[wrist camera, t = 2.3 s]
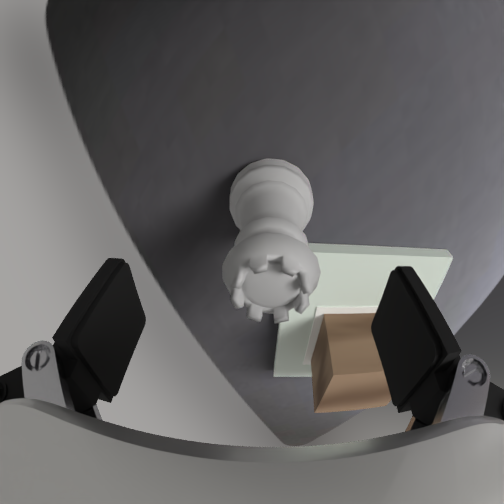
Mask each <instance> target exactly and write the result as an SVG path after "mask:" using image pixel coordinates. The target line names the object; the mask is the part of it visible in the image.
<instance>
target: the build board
mask: <svg viewBox="0 0 504 504" xmlns="http://www.w3.org/2000/svg"><path fill="white" fill-rule="evenodd" d="M308 245H309V248H310V249H311V250H312V252H313V253H314V254H315V255H316V256H317V259H318V263H319V267H320V271H321V273H320V277H319V281H318V285H317V287H316V289H315V290H314V291H313V293H311V295H310V296H309V304H310V305H309V306H308V307H307V308H306V309H305V310H304V312H303V313H302V314H300V313H298V312H296V311H295V309H294V308H293V309H291V310H289V311H288V312H289V321H286V322H281V323H279V326H278V335H277V344H276V353H275V361H274V377H312V371H311V358H312V355H313V352H314V348H315V345H316V341H317V338H318V334H319V331H320V327H321V323H322V320H323V316H324V314H354V313H376V311H377V308H378V306H379V303H380V301H381V298H382V295H383V292H384V290H385V287H386V284H387V281H388V278H389V275H390V273H391V271H392V270H394V269H395V268H396V267H397V266H411V267H413V269H414V270H415V272H416V273H417V275H418V276H419V278H420V279H421V281H422V282H423V284H424V285H425V287H426V289H427V290H428V292H429V293H430V295H431V297H432V298H433V300H434V298H435V296H436V294H437V292H438V290H439V288H440V286H441V284H442V282H443V280H444V278H445V275H446V273H447V271H448V269H449V266H450V264H451V262H452V259H453V257H452V255H451V254H450V253H449V251H448V250H445V249H427V248H408V247H388V246H366V245H343V244H319V243H308Z"/></svg>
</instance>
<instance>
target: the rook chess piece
mask: <svg viewBox="0 0 504 504" xmlns="http://www.w3.org/2000/svg"><path fill="white" fill-rule="evenodd" d="M313 204H314V200H313V194H312V190H311V186H310V183H309V180H308V179H307V177H306V176H305V175H304V174H303V172H302V171H301V170H300V169H299V168H298V167H296V166H294V165H292V164H290V163H288V162H286V161H285V160H278V159H263V160H260V161H256V162H253V163H250V164H249V165H248V166H246V167H245V168H244V169H243V170H242V171H240V172H239V173H238V174H237V176H236V178H235V180H234V182H233V184H232V186H231V193H230V206H229V210H230V213H231V215H232V217H233V220H234V222H235V224H236V226H237V227H238V228H239V229H240V232H239V234H238V236H237V238H236V240H235V242H234V247H233V248H232V249H230V251H229V253H228V255H227V257H226V258H225V260H224V262H223V264H222V277H223V282H224V283H225V285H226V287H227V289H228V291H229V293H230V294H231V296H230V300H231V302H232V304H233V305H234V307H235V309H239V308H242V307H244V306H246V307H247V316H246V318H248V319H251V320H254V321H257V322H259V323H260V321H261V319H262V313H270V314H274V323H275V324H276V323H281V322H286V321H289V312H288V311H289V310H291V309H293V308H294V309H295V311H296V312H298V313H300V314H302V313H303V312H304V310H305V309H306V308H307V307H308V306H309V305H310V304H309V296H310V295H311V293H313V291H314V290H315V289H316V287H317V285H318V281H319V277H320V273H321V271H320V267H319V263H318V259H317V256H316V255H315V254H314V253H313V252H312V250H311V249H310V248H309V245H308V242H307V238H306V235H305V234H304V233H303V232H302V231H303V230H304V228H305V227H306V225H307V224H308V222H309V220H310V219H311V215H312V210H313Z"/></svg>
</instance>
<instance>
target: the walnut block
mask: <svg viewBox="0 0 504 504" xmlns="http://www.w3.org/2000/svg"><path fill="white" fill-rule="evenodd" d="M375 314H376V313H354V314H324V316H323V320H322V323H321V327H320V331H319V334H318V338H317V341H316V345H315V348H314V352H313V355H312V358H311V371H312V383H313V397H314V413H322V412H337V411H348V410H358V409H366V408H373V407H381V406H386V405H387V404H388V403H389V402H390V401H391V395H390V392H389V388H388V384H387V381H386V377H385V374H384V370H383V367H382V363H381V360H380V357H379V354H378V350H377V347H376V344H375V341H374V338H373V335H372V332H371V324H372V321H373V318H374V316H375Z"/></svg>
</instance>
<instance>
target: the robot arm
mask: <svg viewBox="0 0 504 504" xmlns="http://www.w3.org/2000/svg"><path fill="white" fill-rule="evenodd" d="M145 321H146V317H145V314H144V311H143V308H142V305H141V302H140V299H139V296H138V293H137V290H136V287H135V283H134V280H133V277H132V273H131V270H130V267H129V265H128V263H125V261H124V259H118V258H117V259H116V258H108V259H107V260H106V261H105V263H104V264H103V265H102V267H101V268H100V269H99V271H98V272H97V273H96V274H95V276H94V277H93V278H92V280H91V281H90V283H89V284H88V285H87V287H86V288H85V290H84V291H83V292H82V294H81V295H80V297H79V298H78V299H77V301H76V302H75V304H74V305H73V307H72V308H71V310H70V311H69V313H68V314H67V316H66V317H65V319H64V320H63V322H62V323H61V325H60V326H59V328H58V329H57V331H56V333H55V334H54V336H53V337H52V338H53V340H54V341H55V343H54V345H52V344H51V343H50V342H47V341H38V342H35V343H34V344H32V345H31V346H30V347H28V348H27V350H26V351H25V353H24V355H23V357H22V366H21V367H18V368H16V369H14V370H12V371H10V372H8V373H6V374H4V375H2V376H0V504H504V390H503V389H502V388H500V387H498V386H496V385H495V384H493V383H491V382H490V372H489V368H488V367H487V365H486V363H485V362H484V361H483V360H482V359H481V358H479V357H478V356H475V355H465V356H463V357H462V358H460V356H459V354H460V352H461V349H460V347H459V345H458V343H457V341H456V339H455V337H454V335H453V334H452V332H451V330H450V328H449V326H448V324H447V322H446V321H445V319H444V317H443V315H442V314H441V312H440V310H439V308H438V307H437V305H436V303H435V302H434V300H433V298H432V297H431V295H430V293H429V292H428V290H427V289H426V287H425V285H424V284H423V282H422V281H421V279H420V278H419V276H418V275H417V273H416V272H415V270H414V269H413V267H411V266H397V267H396V268H395V269H394V270H392V271H391V273H390V275H389V278H388V281H387V284H386V287H385V290H384V292H383V295H382V298H381V301H380V303H379V306H378V308H377V311H376V314H375V316H374V318H373V321H372V324H371V332H372V335H373V338H374V341H375V344H376V347H377V350H378V354H379V357H380V360H381V363H382V367H383V370H384V374H385V377H386V381H387V384H388V388H389V392H390V395H391V399H392V402H393V404H394V405H395V406H397V409H398V413H400V412H405V411H409V410H411V411H412V414H413V416H412V418H411V421H410V423H409V425H408V427H407V429H406V431H405V432H402V433H398V434H393V435H388V436H384V437H379V438H373V439H367V440H362V441H355V442H348V443H340V444H330V445H319V446H306V447H305V446H303V447H244V446H230V445H218V444H209V443H201V442H194V441H187V440H181V439H175V438H169V437H164V436H159V435H155V434H150V433H146V432H141V431H137V430H134V429H129V428H126V427H122V426H119V425H115V424H112V423H109V422H105V421H102V419H101V416H100V413H99V410H98V408H97V405H96V403H97V400H98V399H100V400H103V401H107V402H110V403H111V401H112V398H113V396H116V395H117V394H118V391H119V389H120V386H121V383H122V380H123V378H124V375H125V372H126V370H127V367H128V365H129V362H130V360H131V357H132V355H133V352H134V350H135V348H136V345H137V342H138V340H139V338H140V335H141V333H142V330H143V328H144V326H145Z"/></svg>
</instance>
